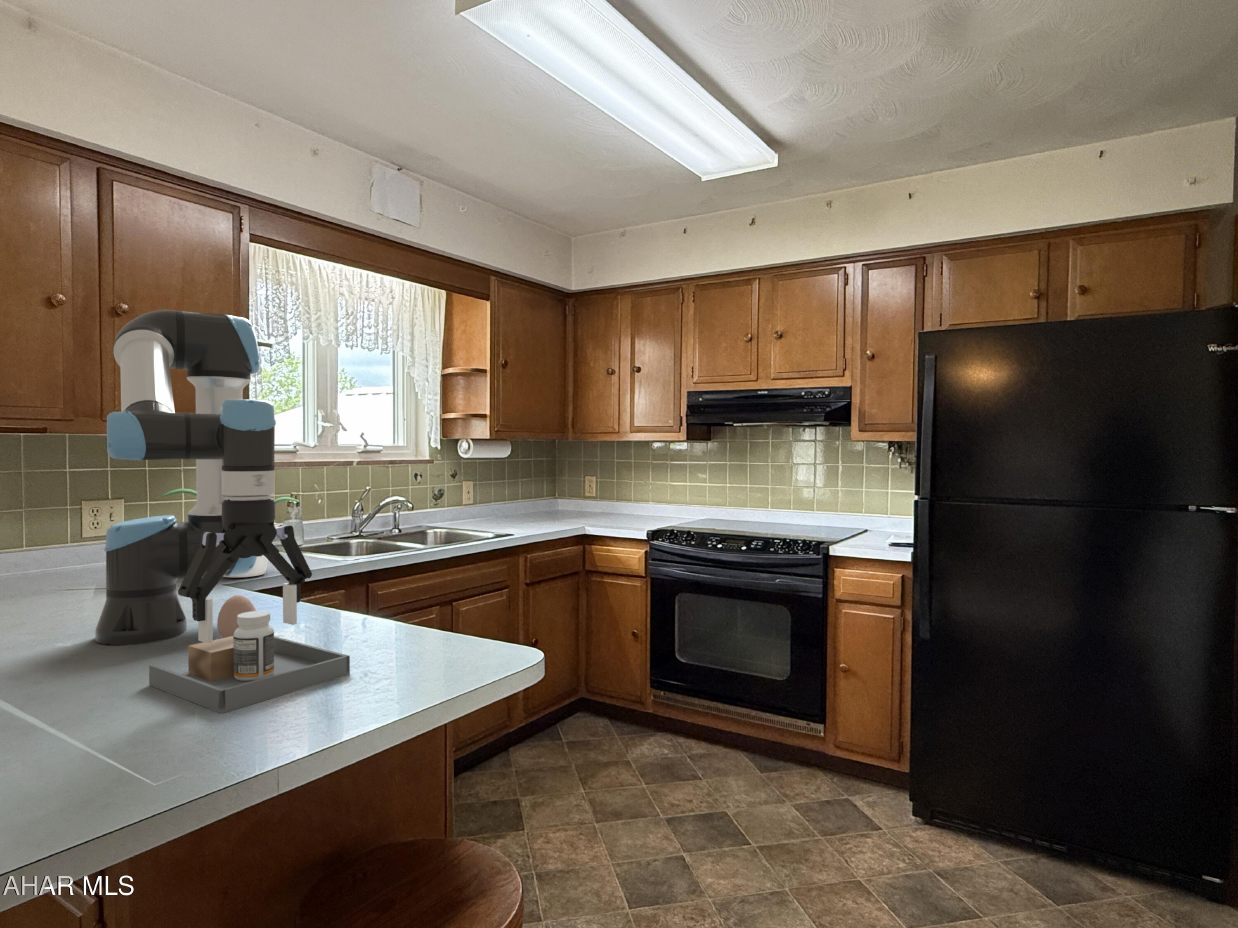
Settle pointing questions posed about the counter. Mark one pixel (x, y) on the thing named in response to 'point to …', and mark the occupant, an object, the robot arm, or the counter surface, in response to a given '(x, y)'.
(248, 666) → the pill bottle
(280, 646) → the grey rimmed tray
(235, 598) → the egg
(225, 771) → the counter surface
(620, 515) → the counter surface
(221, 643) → the brown rectangular block
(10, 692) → the counter surface
